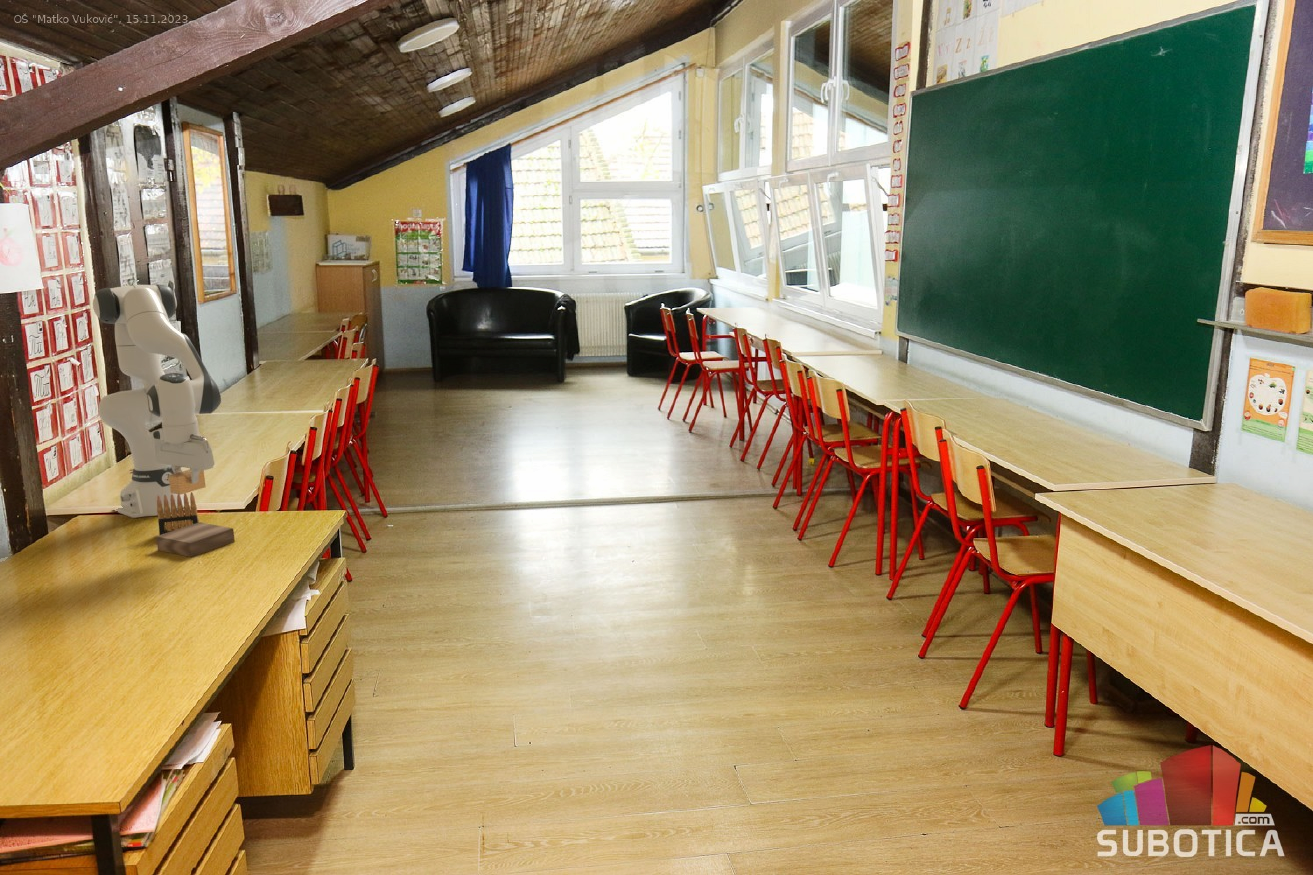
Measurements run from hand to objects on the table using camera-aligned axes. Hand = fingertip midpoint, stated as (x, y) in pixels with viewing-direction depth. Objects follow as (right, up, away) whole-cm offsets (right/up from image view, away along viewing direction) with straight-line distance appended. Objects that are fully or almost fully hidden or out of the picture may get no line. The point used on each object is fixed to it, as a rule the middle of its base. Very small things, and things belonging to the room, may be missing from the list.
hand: (187, 481), depth 267 cm
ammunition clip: (-10, -16, +16) cm, 25 cm away
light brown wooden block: (0, -2, 0) cm, 2 cm away
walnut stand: (+1, -18, +4) cm, 19 cm away
